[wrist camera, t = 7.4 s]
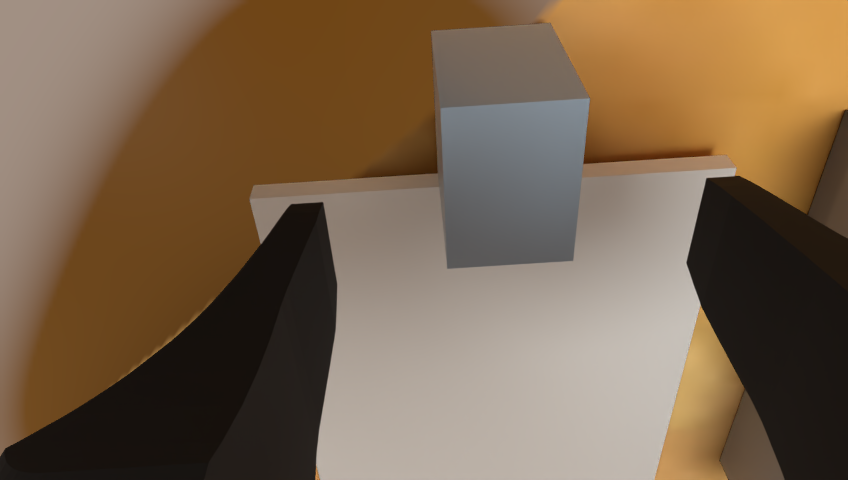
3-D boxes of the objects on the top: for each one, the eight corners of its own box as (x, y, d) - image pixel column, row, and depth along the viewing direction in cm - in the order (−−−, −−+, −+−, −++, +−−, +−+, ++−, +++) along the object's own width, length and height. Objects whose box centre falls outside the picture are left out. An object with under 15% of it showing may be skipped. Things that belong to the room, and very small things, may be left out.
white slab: (635, 475, 26) (673, 593, 22) (335, 493, 26) (325, 614, 22) (747, -4, 15) (857, 80, 11) (226, 30, 15) (174, 125, 11)
